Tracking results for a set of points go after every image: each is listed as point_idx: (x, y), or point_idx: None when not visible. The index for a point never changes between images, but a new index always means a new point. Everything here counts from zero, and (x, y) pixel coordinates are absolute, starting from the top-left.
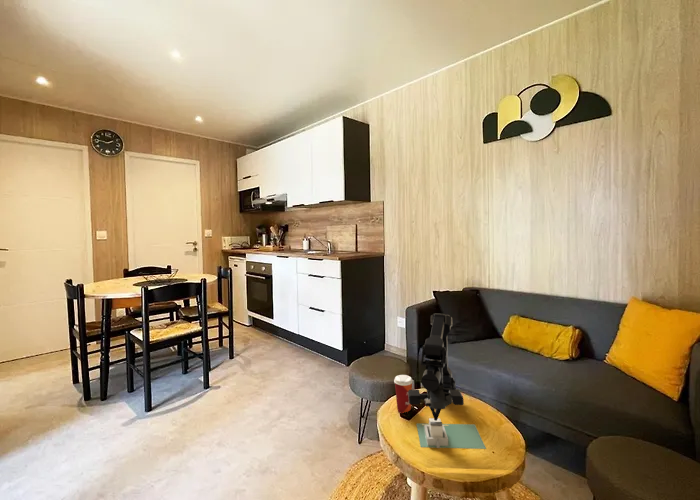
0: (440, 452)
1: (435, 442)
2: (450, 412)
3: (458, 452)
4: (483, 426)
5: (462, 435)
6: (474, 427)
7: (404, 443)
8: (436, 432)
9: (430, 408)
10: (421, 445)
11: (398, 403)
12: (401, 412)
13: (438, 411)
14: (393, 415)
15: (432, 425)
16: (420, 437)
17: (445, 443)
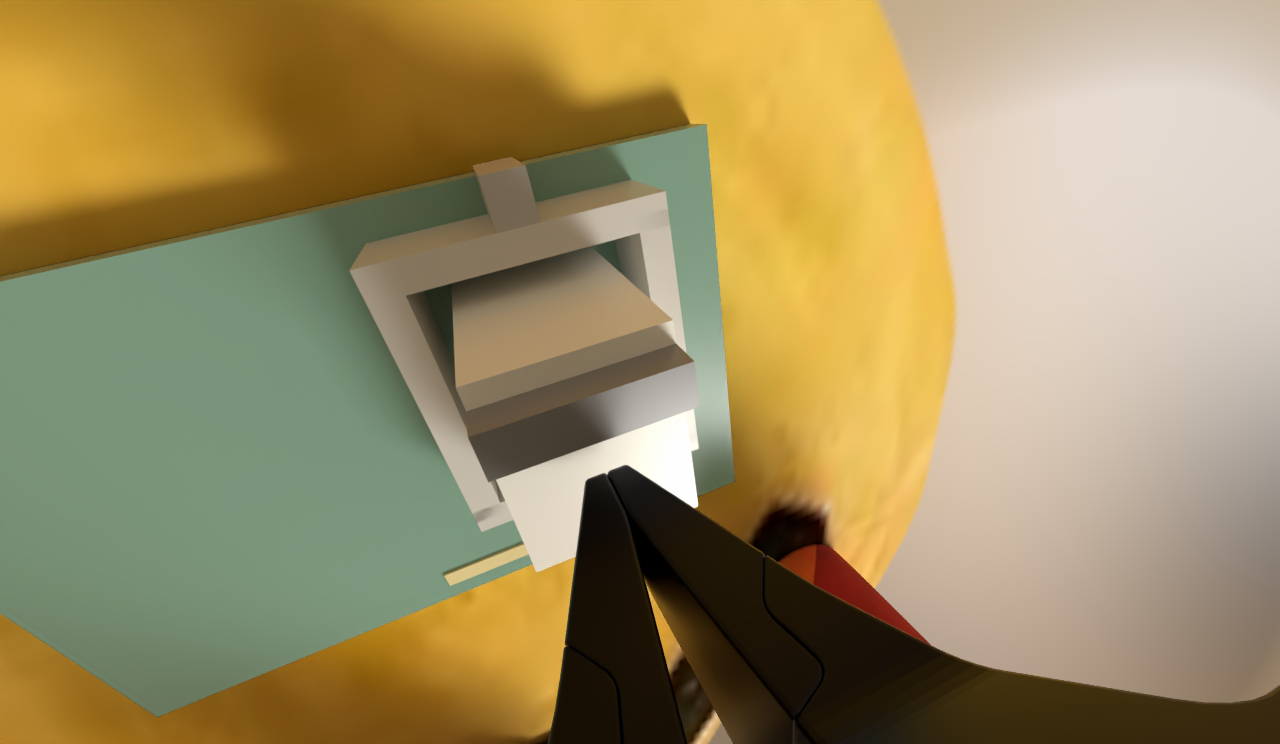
0: (457, 130)
1: (542, 210)
2: (469, 719)
3: (201, 193)
4: (70, 737)
5: (234, 504)
6: (136, 679)
7: (834, 195)
8: (553, 310)
9: (923, 653)
10: (697, 158)
11: (884, 600)
12: (821, 549)
13: (613, 674)
14: (866, 503)
15: (647, 352)
16: (705, 301)
17: (401, 242)
